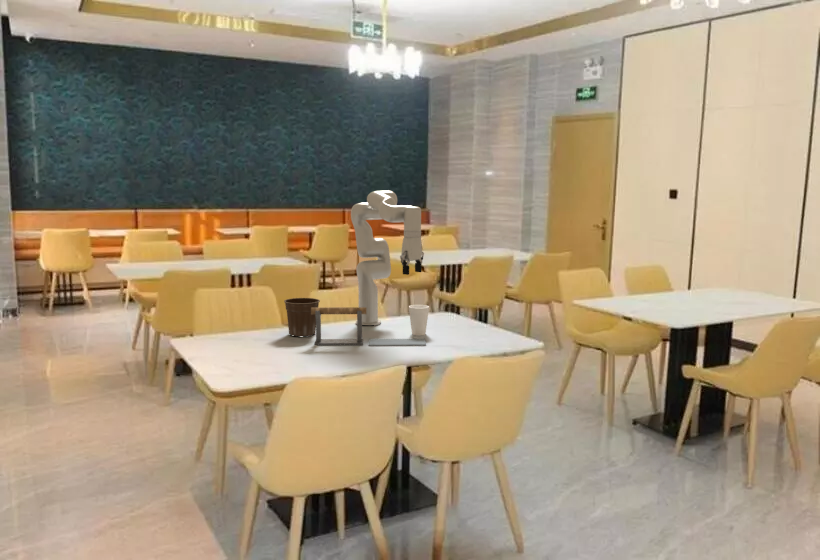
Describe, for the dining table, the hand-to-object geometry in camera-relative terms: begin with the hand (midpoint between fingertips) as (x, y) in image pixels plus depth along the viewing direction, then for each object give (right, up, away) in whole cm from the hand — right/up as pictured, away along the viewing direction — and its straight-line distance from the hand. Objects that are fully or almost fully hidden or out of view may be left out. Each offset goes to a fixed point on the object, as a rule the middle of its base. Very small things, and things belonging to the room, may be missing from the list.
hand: (412, 273), depth 317 cm
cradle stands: (-32, -31, -3) cm, 45 cm away
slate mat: (-7, -31, -2) cm, 32 cm away
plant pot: (-51, -29, +14) cm, 60 cm away
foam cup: (+3, -28, +16) cm, 33 cm away
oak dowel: (-32, -18, -5) cm, 37 cm away
